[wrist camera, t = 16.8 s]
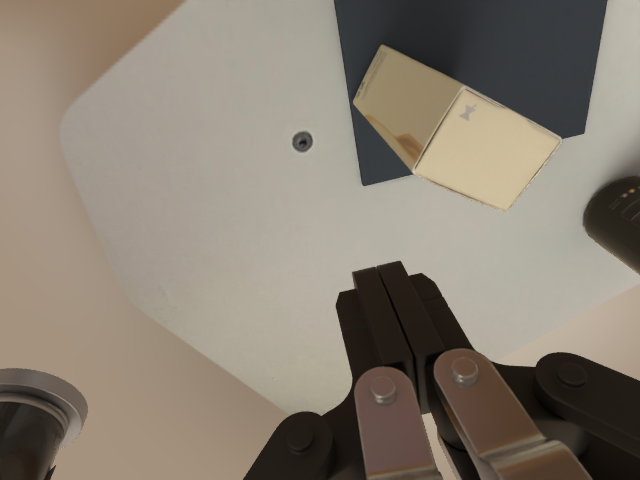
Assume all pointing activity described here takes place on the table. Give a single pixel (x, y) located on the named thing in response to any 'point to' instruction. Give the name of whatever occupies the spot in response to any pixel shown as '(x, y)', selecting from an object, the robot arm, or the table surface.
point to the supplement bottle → (617, 220)
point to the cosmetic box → (452, 131)
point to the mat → (477, 58)
